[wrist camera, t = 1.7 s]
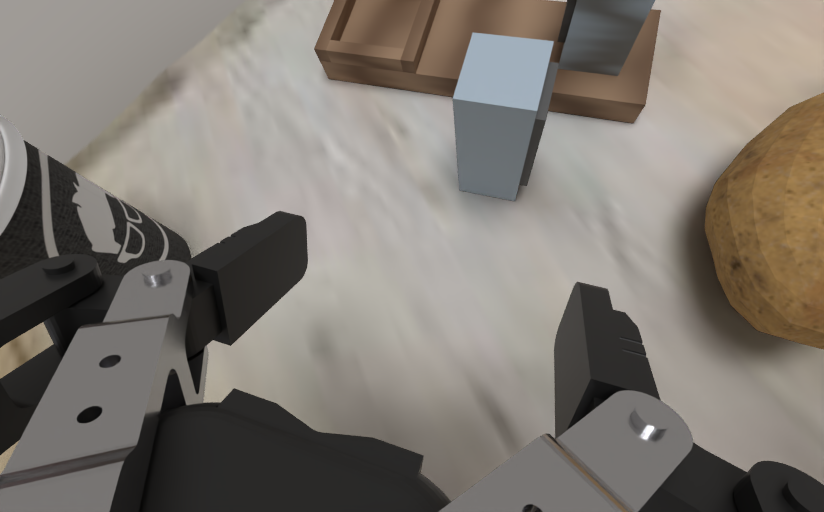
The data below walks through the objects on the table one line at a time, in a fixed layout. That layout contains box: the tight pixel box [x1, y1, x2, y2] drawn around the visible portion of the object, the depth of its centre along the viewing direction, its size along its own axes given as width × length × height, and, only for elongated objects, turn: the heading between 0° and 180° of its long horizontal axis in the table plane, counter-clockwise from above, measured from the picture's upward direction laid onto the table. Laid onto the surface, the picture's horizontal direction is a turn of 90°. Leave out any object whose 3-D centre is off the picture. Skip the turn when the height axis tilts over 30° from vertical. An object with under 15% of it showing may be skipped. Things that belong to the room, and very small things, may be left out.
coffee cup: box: [0, 115, 191, 279], centre depth 23 cm, size 10×10×15 cm
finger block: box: [453, 33, 559, 201], centre depth 24 cm, size 4×4×10 cm
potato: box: [705, 93, 824, 349], centre depth 20 cm, size 10×14×8 cm
